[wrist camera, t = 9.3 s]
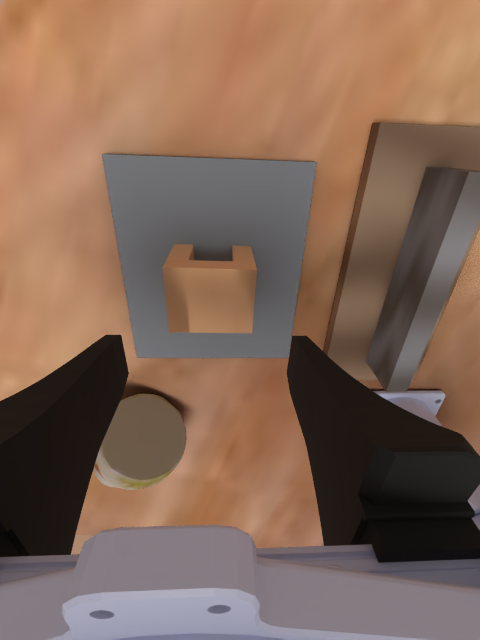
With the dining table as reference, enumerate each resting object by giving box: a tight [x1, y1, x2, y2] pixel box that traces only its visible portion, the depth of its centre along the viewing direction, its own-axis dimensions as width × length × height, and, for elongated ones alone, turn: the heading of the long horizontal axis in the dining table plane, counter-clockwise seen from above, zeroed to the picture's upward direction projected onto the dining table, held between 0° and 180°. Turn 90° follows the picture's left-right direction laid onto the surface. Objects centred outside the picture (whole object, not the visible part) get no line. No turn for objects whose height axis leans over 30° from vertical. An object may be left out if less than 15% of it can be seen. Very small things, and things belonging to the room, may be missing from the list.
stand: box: [323, 122, 480, 392], centre depth 20 cm, size 18×8×4 cm, turn 178°
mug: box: [94, 394, 186, 490], centre depth 26 cm, size 8×10×10 cm
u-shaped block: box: [163, 244, 257, 333], centre depth 19 cm, size 4×5×4 cm
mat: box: [102, 154, 317, 358], centre depth 21 cm, size 14×12×1 cm
